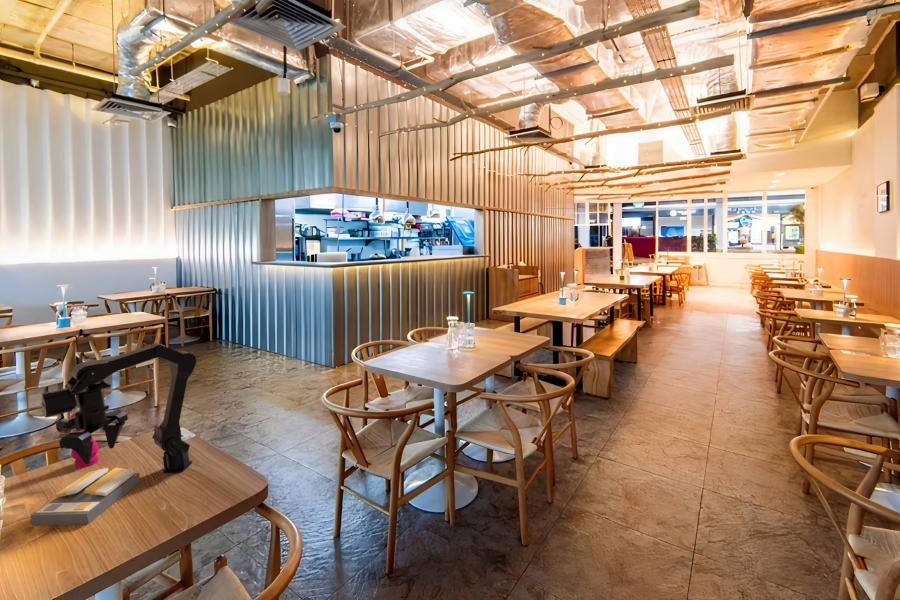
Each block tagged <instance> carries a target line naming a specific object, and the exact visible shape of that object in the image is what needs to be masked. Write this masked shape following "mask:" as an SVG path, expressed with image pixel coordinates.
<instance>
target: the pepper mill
mask: <svg viewBox="0 0 900 600" xmlns="http://www.w3.org/2000/svg"><path fill="white" fill-rule="evenodd" d="M78 411H80V410H79V407H77V408H75V412H74V413H73V414H72V415H70V416H69V418H68V419H70V418H72V417H74V416H75V414H76V412H78ZM83 431H84V430H83V429H81V430H76V428H75V429H73V430H71V432H83ZM90 442H93V447H92V455H91V461H90V464H85V463H84V462H83V460H82V459H81V458H80V456H79V455H78V454H77V453H76V452H75V451H74V450H73V449H71V458H73V459H74V467H75V468H81V469H82V468H85V467H90V466H93V465H95V464H97V463H98V462H99V460H100V459H99V455H98V452H99V451H100V450H99V449H100V447H99V445H98V442H97V441H96V440H95V439H94V437H92V439H91V441H90Z"/></svg>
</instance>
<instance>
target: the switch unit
mask: <svg viewBox="0 0 900 600" xmlns="http://www.w3.org/2000/svg"><path fill="white" fill-rule="evenodd" d="M106 474H107V473H105V474H103V475H102V476H100V477H99V478H97V479H96V480H95V481H93V482H92V483H90V484H89V485H87V486H86V487H85V488H83V489H82V490H80V491H79V492H77V493H74V494H70V495H66V496H61V497H55V498H54V499H53V500H51V501H49V502H48V503H47V504H44V506H42V507H41V508H40V509H38V510H36V511H35V512H32V513H31V514H30V522H31V526H33V527H34V526H61V525H62V526H63V525H64V526H66V525H69V526H71V525H90V523H92V522H93V521H94V520H95V519H97V517H99V516H100V515H101V514H102V513H104V512H105V511H107V509H109V508H110V507H111V506H112V505H113V504H114V505H115V503H116V502H118V501H119V500H120V499H121V498H123V497H124V496H125V495H126V494H127V493H129V491H131V490H132V489H134V488H135V487H136V486H137V485H138V484H139V483H141V477H140V476H141V475H140V472H135V474H134V475H133V476H131V477H130V478H129V479H127V480H126V481H125V482H123V483H122V484H121V485H120V486H118V487H117V488H116V489H114V490H113V491H112V492H110V493H109V494H108V495H107V496H102V495H96V494H90V493H84V492H85V489H86V488H87V487H89V486H90V485H92V484H93V483H95V482H96V481H97V480H99V479H100V478H102V477H103V476H104V475H106Z"/></svg>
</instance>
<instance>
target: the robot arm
mask: <svg viewBox="0 0 900 600" xmlns="http://www.w3.org/2000/svg"><path fill="white" fill-rule="evenodd" d="M157 358H161V359H163V360H166V361H169V370H170V375H171V380H170V385H169V390H168V396H167V401H166V406H165V410H164V415H163V420H162V421H161V423H160V424H159V425H155V426H154V428H153V429H154V432H153V434H152V437H151V438H152V439H153V442H154V444H155V445H156V446H157V447H158V448H160V450H162V451H164V452H163V456H162V462H163V468H164V469H163V470H162V473H164V474H165V473H182V472H184V471H185V470H186V469H187V468H188V467H189V466H190V465H192V464H193V460H190V457H189V456H190V454H189V450H190V447H191V446H190V444H189V443H187V442H186V441H185V440H183V439H182V430H181V429H182V428H181V425H180V422H181V421H180V419H181V414H182V410H183V405H184V404H183V403H184V400H185V395H186V389H187V386H188V385H187V383H188V381H189V378H190V377H191V376H192V374H193V372H194V370H195V368H196V365H197V362H198V360H197V357H196V355H194V354H193V353H190V352H188V351H185V350H182V349H181V350H174V349H173V348H169V347H167V346H166V345H164V344H162V343H158V342H155V343H152V344H151V345H148V346H145V347H141V348H138V349H134V350H132V351H129V352H126V353H123V354H120V355H117V356H114V357H110V358H106V359H105V358H104V359H94V360H88V361H82V362H80V363H77V364H76V365H75V366H74V367H73V369H72V370H71V377H70V378H69V380H68V381H67V382H66V384H65V385H64V388H60V389H56V390H52V391H43V392H41V402H40V405H41V406H40V407H41V410H42V413H43V416H44V418H45V419H47V418H51V417H54V416H58V415H62V414H66V413H70V412H73V410H74V409H75V410H76V407H77V405H78V408H79V410H80V411H78V412H76V411H75V413H76V414H75V416H74V417H72V418H70V417H69V418H70V419H69V418H66V417H64V418H62V419H60V420H58V421H56V422H55V429H56V430H57V432H59V433H64V434H65V435H63V437H60V439H59V440H58V443H59V444H58V445H59V448H60V449H66V450H67V449H69V450H70V449H71V450H72V449H73V450H74V451H75V452H76V453H77V454H78V455H79V456H80V458H81V459H82V460H83V462H84V463H85V464H90V461H91V455H92V447H93V442H90V441H91V439H92V438H93V436H92V435H93V434H95V433H97V432H98V431H100V430H102V431H104V433H105V438H106V442H107V446H108V448H109V449H114V447H115V445H116V443H117V441H118V438H119V435H120V433H121V432H122V429H123V428H124V425H125V424H126V421H128V420H129V417H128V413H127V412H126V411H124V410H121V411H119V410H118V411H108V412H106V411H107V410H109V409H110V406H109V404H108V405H107V404H106V403H105V399H104V391H103V389H108V388H111V387H112V386H111V384H110V383H108V382H106V381H104V380H105V379H107V378H108V377H109V376H112V375H113V374H115V373H117V372H119V371H122V370H124V369H128V368H130V367H133V366H136V365H139V364H142V363H146V362H149V361H151V360H154V359H157ZM77 403H78V404H77ZM105 404H106V405H105ZM75 428H76V430H81V429H83V430H84V431H83V432H72V431H73V429H75ZM69 431H71V432H70V433H68V432H69Z"/></svg>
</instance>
